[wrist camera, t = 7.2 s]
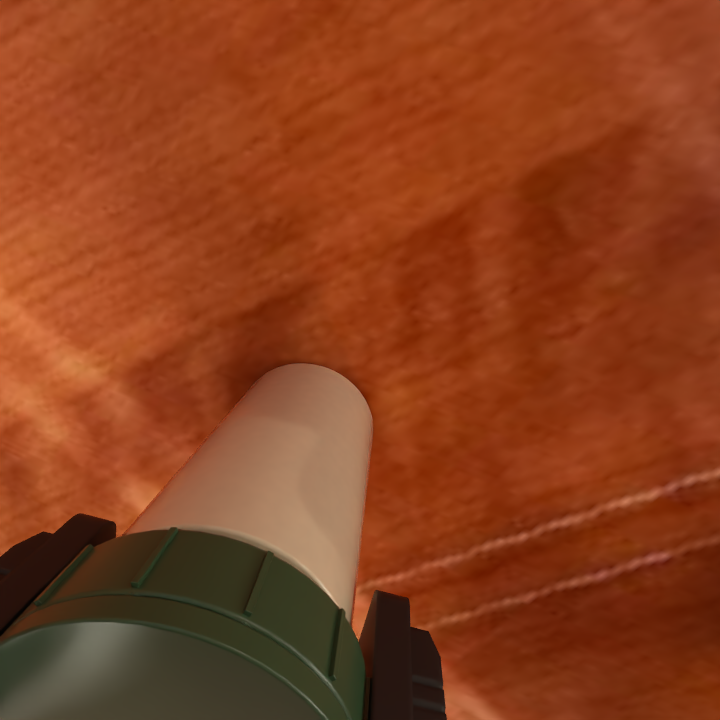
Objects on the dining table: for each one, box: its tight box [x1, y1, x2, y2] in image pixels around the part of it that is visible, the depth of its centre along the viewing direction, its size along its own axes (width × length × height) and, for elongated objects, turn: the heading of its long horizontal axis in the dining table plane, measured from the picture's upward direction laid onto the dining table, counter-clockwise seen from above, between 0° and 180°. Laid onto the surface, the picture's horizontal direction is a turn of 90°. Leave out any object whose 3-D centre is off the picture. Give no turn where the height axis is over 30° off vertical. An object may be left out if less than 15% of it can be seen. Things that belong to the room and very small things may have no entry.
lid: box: [0, 527, 370, 720], centre depth 7 cm, size 6×6×2 cm
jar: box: [122, 363, 373, 627], centre depth 12 cm, size 5×5×10 cm
